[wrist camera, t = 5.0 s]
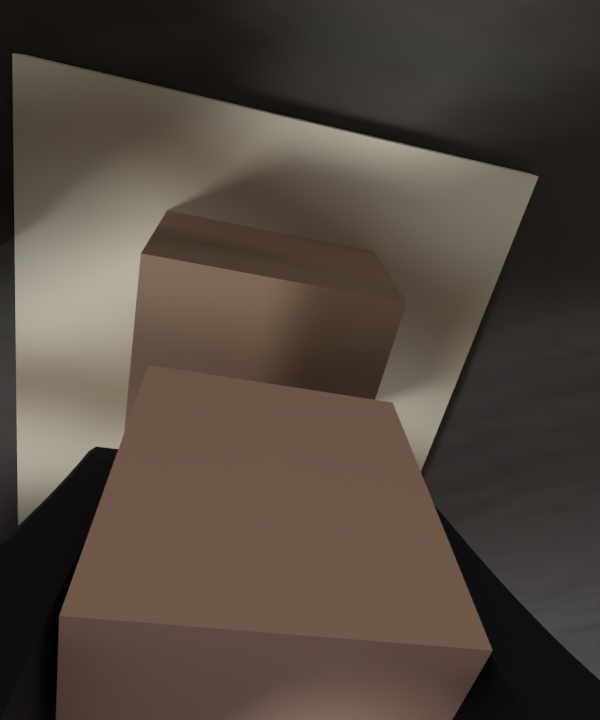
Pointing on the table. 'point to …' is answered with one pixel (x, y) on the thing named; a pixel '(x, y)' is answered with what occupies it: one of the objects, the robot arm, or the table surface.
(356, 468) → the clay block
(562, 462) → the table surface
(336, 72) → the table surface
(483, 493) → the table surface
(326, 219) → the birch board
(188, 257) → the walnut block
